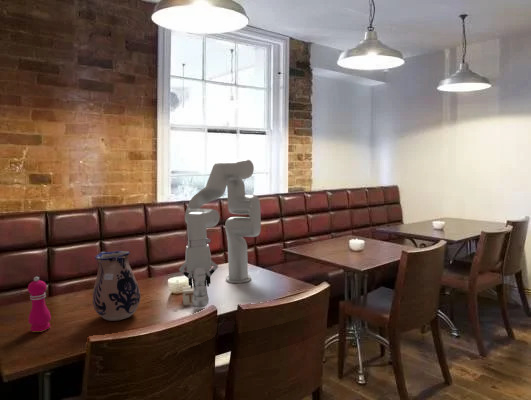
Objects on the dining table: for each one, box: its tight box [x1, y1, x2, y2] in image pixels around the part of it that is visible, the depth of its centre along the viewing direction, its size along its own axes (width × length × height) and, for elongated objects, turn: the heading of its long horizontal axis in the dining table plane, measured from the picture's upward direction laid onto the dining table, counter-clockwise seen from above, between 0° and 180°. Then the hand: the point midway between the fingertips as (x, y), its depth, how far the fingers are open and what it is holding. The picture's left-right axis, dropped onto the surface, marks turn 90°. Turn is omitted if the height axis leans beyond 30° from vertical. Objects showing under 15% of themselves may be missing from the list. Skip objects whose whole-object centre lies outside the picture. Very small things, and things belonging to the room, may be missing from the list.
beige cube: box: [182, 285, 194, 306], centre depth 179 cm, size 6×6×6 cm
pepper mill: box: [27, 276, 52, 332], centre depth 153 cm, size 7×7×20 cm
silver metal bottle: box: [191, 267, 210, 308], centre depth 170 cm, size 6×7×20 cm
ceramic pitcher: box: [92, 250, 141, 322], centre depth 165 cm, size 18×21×25 cm
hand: (199, 285), depth 170 cm, fingers closed on silver metal bottle, 6 cm apart
